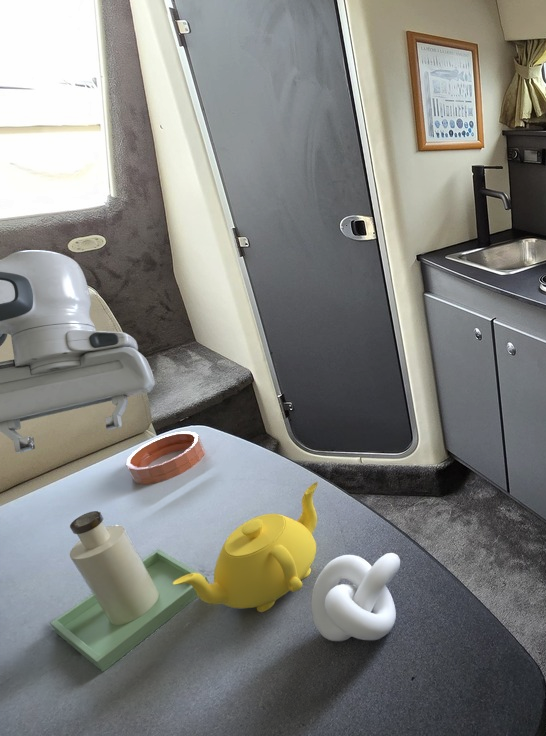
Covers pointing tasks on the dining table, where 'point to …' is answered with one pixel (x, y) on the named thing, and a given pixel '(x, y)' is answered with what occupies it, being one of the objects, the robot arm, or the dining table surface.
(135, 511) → the dining table surface
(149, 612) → the tray
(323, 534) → the dining table surface
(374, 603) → the white knot
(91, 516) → the bottle
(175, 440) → the ring
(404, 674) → the dining table surface
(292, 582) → the teapot
